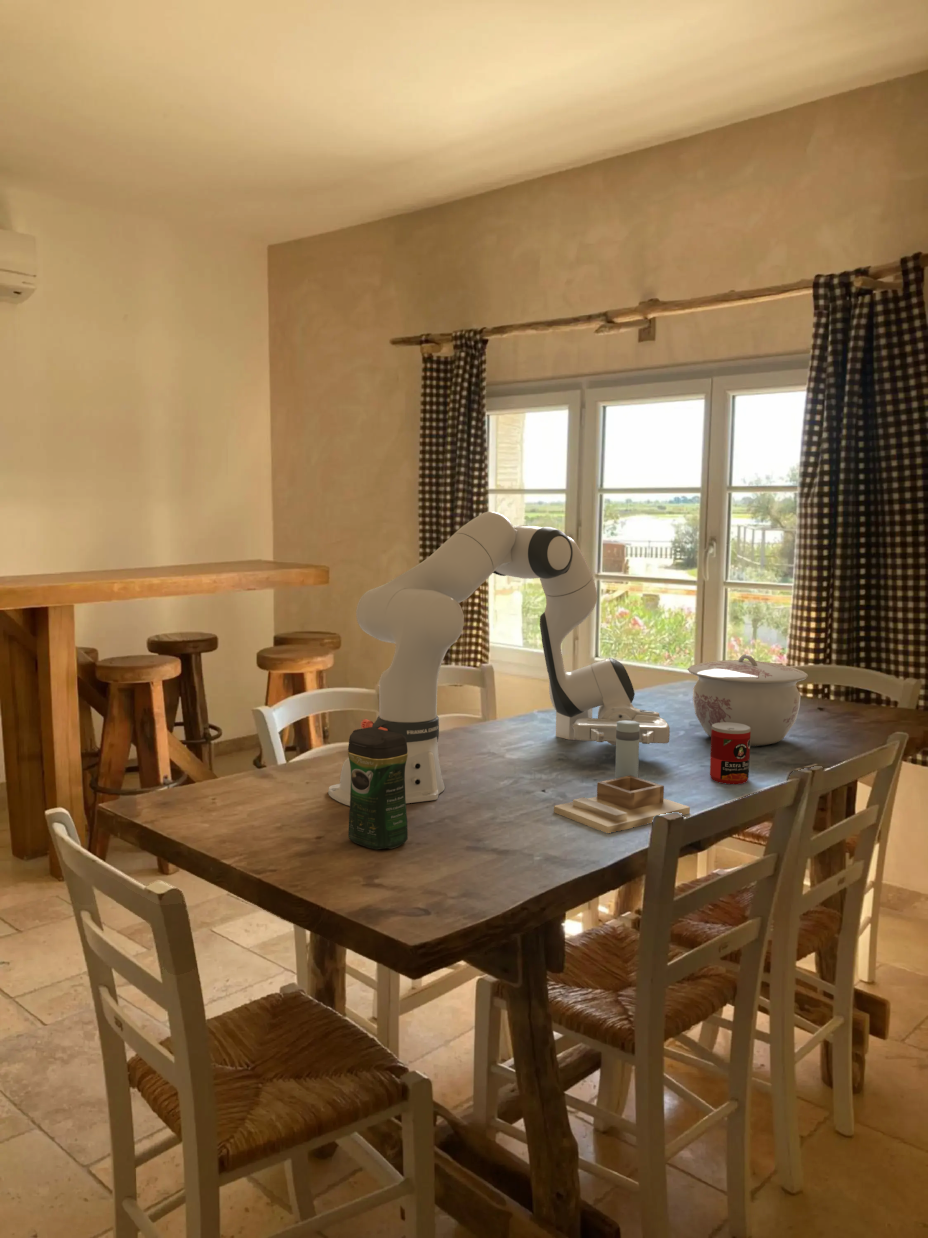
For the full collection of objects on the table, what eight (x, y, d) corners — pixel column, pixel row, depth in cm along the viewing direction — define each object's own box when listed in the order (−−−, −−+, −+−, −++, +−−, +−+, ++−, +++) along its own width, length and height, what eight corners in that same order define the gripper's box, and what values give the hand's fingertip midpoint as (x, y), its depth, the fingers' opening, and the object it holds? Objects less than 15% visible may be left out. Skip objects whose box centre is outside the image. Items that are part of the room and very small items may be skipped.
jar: (599, 737, 232) (600, 688, 231) (575, 742, 227) (576, 691, 226) (572, 730, 239) (573, 682, 238) (548, 735, 234) (549, 686, 233)
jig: (608, 834, 162) (608, 809, 162) (553, 812, 174) (554, 789, 173) (689, 813, 174) (690, 790, 173) (633, 794, 185) (634, 773, 185)
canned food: (722, 786, 192) (724, 731, 190) (702, 775, 199) (704, 723, 198) (756, 783, 194) (758, 729, 192) (735, 773, 201) (737, 721, 200)
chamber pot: (781, 760, 212) (785, 667, 210) (665, 741, 228) (668, 655, 226) (821, 737, 234) (825, 653, 232) (713, 722, 251) (716, 642, 248)
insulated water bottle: (626, 792, 186) (628, 726, 185) (609, 787, 190) (611, 722, 189) (642, 789, 189) (644, 723, 188) (626, 783, 193) (628, 719, 191)
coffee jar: (416, 843, 157) (416, 730, 155) (378, 855, 151) (378, 738, 149) (377, 829, 164) (377, 721, 161) (340, 840, 158) (339, 728, 156)
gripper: (572, 709, 215) (572, 722, 201) (665, 712, 213) (673, 726, 199) (571, 737, 215) (572, 752, 202) (664, 740, 213) (671, 756, 200)
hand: (623, 739), depth 200 cm, fingers open, 8 cm apart
